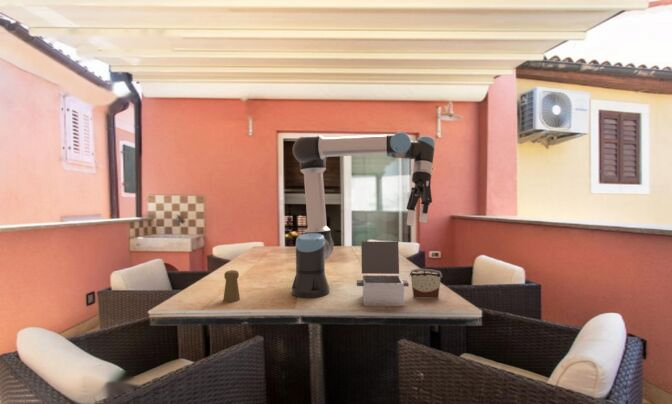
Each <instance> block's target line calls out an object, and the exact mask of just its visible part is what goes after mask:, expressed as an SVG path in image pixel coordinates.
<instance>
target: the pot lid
mask: <svg viewBox="0 0 672 404" xmlns="http://www.w3.org/2000/svg"><path fill="white" fill-rule="evenodd" d="M360 245H361V250H360V253H361V254H360V255H361V274H363V275H364V274H365V275H367V274H369V275H371V274H372V275H373V274H376V275H378V274H379V275H381V274H382V275H384V274H385V275H386V274H387V275H389V274H390V275H392V274H394V275H399V274H400V259H399V258H400V256H399V254H400V251H399V241H361V244H360Z"/></svg>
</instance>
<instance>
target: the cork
mask: <svg viewBox="0 0 672 404" xmlns="http://www.w3.org/2000/svg"><path fill="white" fill-rule="evenodd" d="M223 275H224V276H223V277H224V279H225V284H224V291H223V292H224V293H223V299H222V300H223V302H224V303H235V302H238V301H240V300H241V298H240V297H241V296H240V290H239V283H238V279H239V275H240V274H239V271H238V270H236V269H235V270H234V269H233V270H232V269H231V270H227V271H225V272H224V274H223Z"/></svg>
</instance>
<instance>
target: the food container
mask: <svg viewBox="0 0 672 404" xmlns="http://www.w3.org/2000/svg"><path fill="white" fill-rule="evenodd" d="M408 275H409V276H408V277H410V279H411V280H410V281H411V287H412V288H411V289H412V296H413V299H439V297H440V296H439V295H440V288H441V287H440V286H441V278H443V273H442V272H441V271H440V270H436V269H431V268H416V269H411V270H410V272H409V274H408Z"/></svg>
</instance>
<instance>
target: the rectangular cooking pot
mask: <svg viewBox="0 0 672 404" xmlns="http://www.w3.org/2000/svg"><path fill="white" fill-rule="evenodd" d="M409 284H410V283H409V282H408V281H407V280H402V279H401V277H400V276H399V275H388V274H387V275H386V274H385V275H384V274H382V275H381V274H379V275H378V274H376V275H373V274H372V275H371V274H369V275H367V274H365V275H364V274H363V275H362V279H357V280H356V287H362V300H363V306H365V307H405V287H409V286H410V285H409Z"/></svg>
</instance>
